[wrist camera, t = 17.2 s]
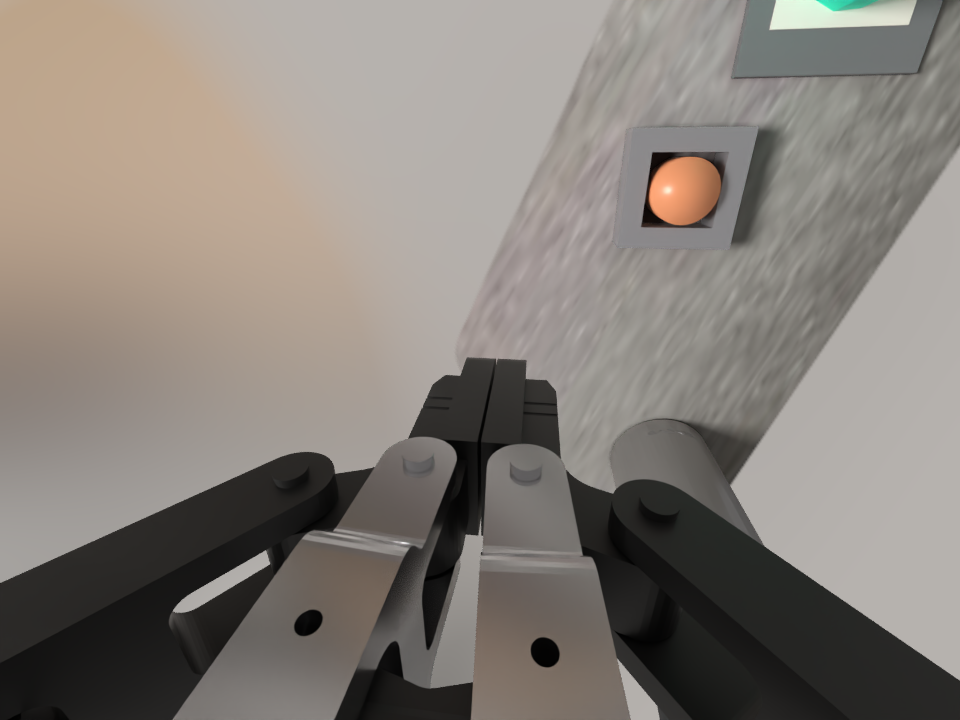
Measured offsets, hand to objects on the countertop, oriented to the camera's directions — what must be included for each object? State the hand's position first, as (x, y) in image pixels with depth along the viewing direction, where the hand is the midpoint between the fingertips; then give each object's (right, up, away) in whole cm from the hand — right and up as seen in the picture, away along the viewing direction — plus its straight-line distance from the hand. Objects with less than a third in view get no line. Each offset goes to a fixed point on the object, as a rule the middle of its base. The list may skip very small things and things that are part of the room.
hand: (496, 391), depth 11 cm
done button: (+14, +14, +21) cm, 29 cm away
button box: (+14, +14, +22) cm, 29 cm away
